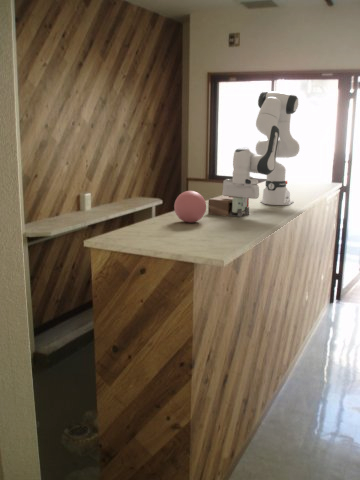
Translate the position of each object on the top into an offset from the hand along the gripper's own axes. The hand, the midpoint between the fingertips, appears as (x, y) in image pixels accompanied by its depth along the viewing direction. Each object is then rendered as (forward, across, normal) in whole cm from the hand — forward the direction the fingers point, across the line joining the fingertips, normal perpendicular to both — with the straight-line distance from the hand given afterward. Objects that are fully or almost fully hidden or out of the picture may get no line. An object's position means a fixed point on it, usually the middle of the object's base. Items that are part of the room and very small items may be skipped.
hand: (239, 205), depth 258 cm
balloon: (+5, -10, -31) cm, 32 cm away
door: (+3, 0, 0) cm, 3 cm away
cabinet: (+5, -6, 0) cm, 8 cm away
